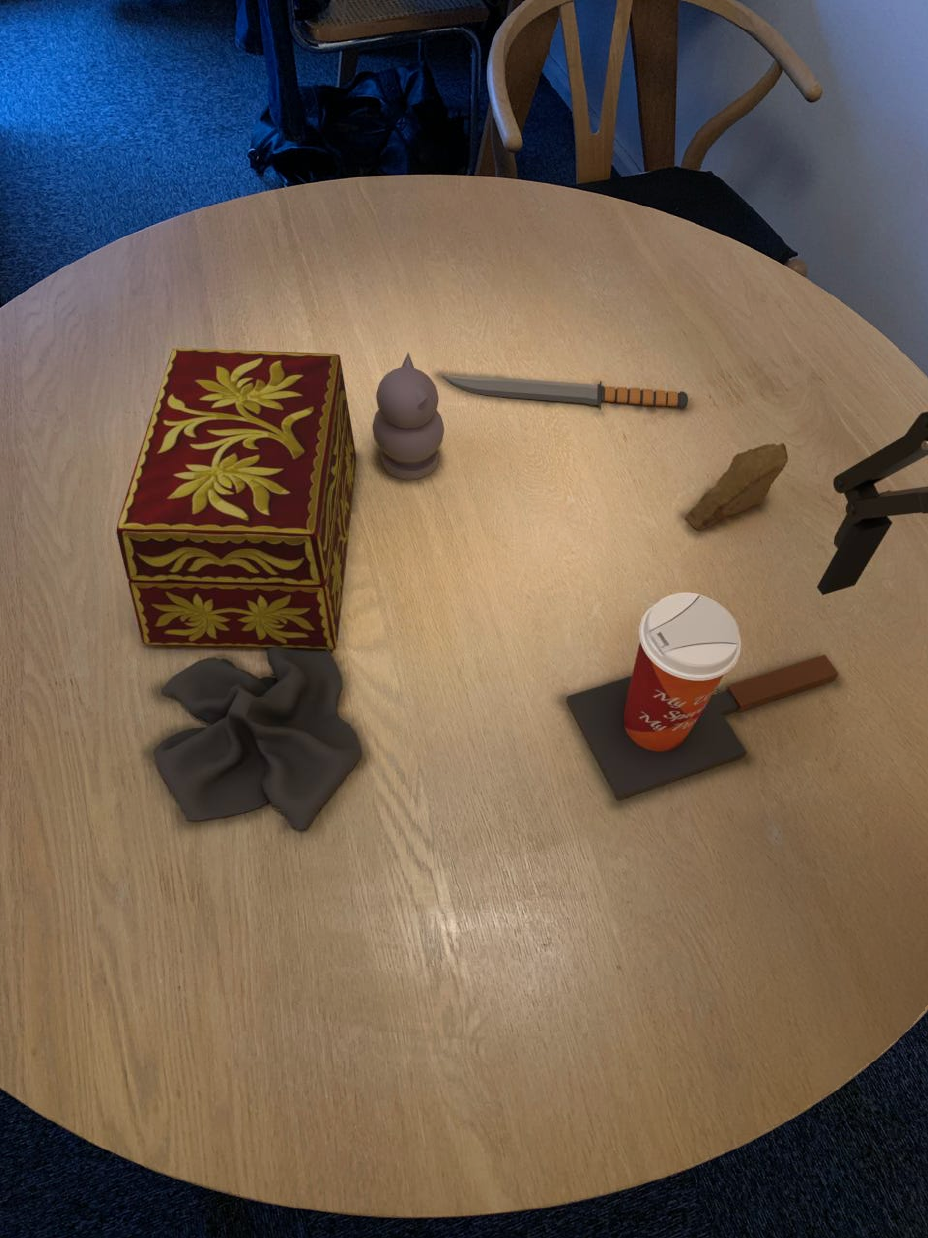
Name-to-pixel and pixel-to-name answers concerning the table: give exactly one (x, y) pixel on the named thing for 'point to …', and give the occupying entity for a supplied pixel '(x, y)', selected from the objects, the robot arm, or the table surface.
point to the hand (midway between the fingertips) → (894, 662)
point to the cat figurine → (408, 422)
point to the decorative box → (242, 502)
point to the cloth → (259, 737)
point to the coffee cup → (678, 667)
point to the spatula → (704, 743)
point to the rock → (740, 484)
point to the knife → (566, 391)
